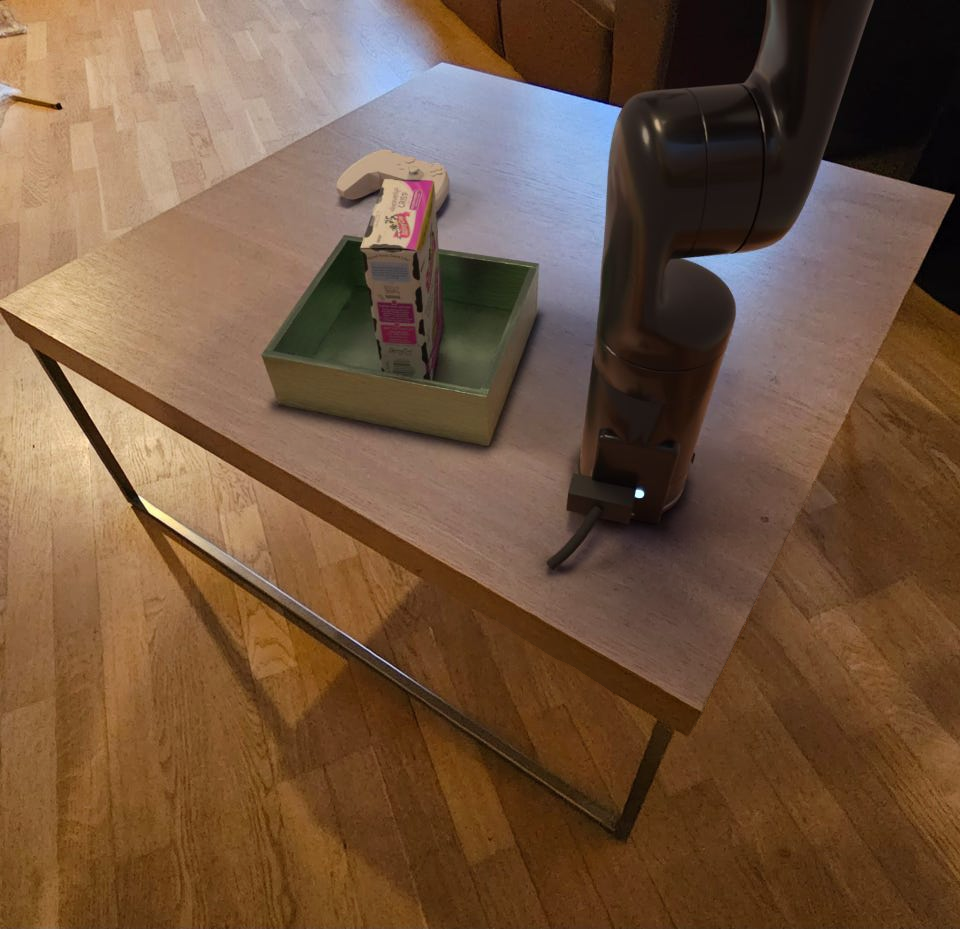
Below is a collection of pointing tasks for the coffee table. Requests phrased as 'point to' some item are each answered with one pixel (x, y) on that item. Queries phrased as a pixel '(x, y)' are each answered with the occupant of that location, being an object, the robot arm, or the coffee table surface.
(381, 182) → the game controller
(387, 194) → the candy bar box
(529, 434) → the coffee table surface
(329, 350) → the shallow wooden crate
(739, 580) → the coffee table surface
